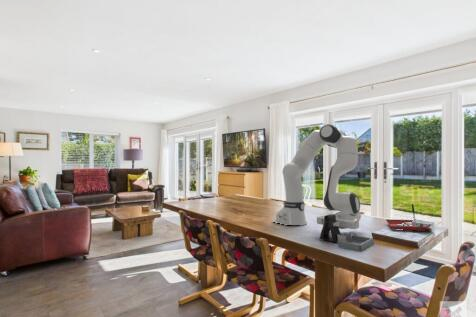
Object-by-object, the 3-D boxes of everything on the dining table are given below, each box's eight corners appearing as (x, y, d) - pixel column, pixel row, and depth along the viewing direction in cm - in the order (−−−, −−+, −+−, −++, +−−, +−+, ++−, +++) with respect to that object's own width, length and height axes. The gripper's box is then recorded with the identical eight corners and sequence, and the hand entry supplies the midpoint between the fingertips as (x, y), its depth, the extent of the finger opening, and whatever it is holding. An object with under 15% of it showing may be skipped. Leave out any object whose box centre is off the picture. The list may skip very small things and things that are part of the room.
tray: (338, 246, 123) (338, 241, 123) (352, 240, 133) (352, 234, 134) (360, 251, 116) (360, 245, 116) (373, 243, 126) (373, 238, 126)
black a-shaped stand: (342, 239, 133) (341, 214, 133) (336, 242, 129) (335, 216, 129) (325, 236, 139) (324, 212, 140) (319, 238, 135) (318, 214, 135)
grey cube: (337, 243, 129) (337, 234, 129) (341, 241, 132) (341, 233, 132) (345, 244, 126) (345, 236, 126) (349, 243, 129) (349, 234, 129)
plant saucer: (390, 231, 149) (390, 225, 149) (385, 224, 166) (385, 218, 166) (429, 233, 143) (429, 226, 143) (419, 225, 160) (419, 220, 160)
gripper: (323, 211, 151) (310, 215, 141) (361, 216, 136) (349, 220, 126) (324, 223, 150) (310, 228, 141) (362, 228, 136) (350, 234, 126)
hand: (329, 224), depth 133 cm, fingers closed on black a-shaped stand
